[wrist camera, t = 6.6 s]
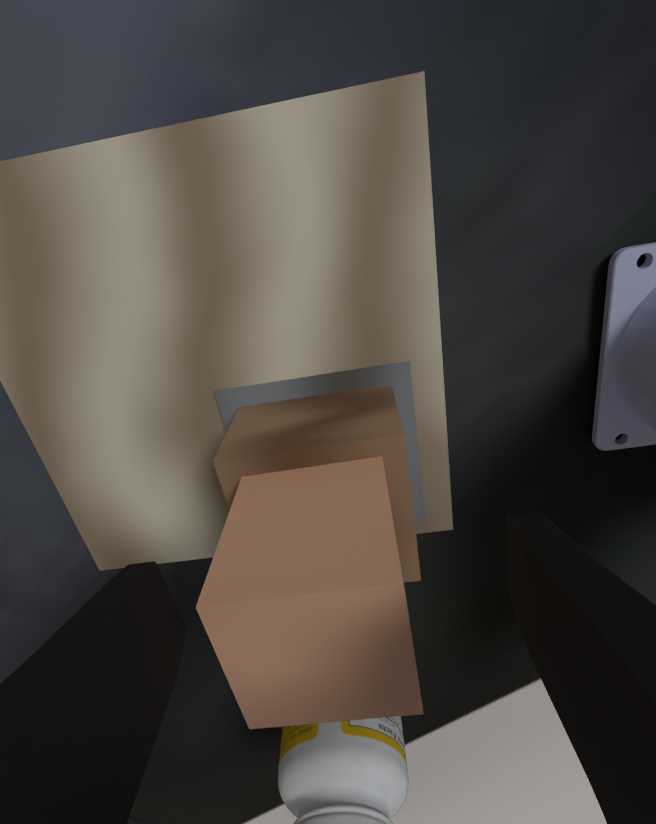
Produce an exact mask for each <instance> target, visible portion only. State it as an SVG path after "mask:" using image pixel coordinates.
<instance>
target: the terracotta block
mask: <svg viewBox="0 0 656 824" xmlns="http://www.w3.org/2000/svg"><path fill="white" fill-rule="evenodd" d="M196 609H197V611H198V614H199V616H200V618H201V621H202V623H203V625H204V627H205V630H206V632H207V634H208V637H209V639H210V641H211V643H212V646H213V648H214V650H215V652H216V655H217V657H218V659H219V662H220V664H221V666H222V668H223V671H224V673H225V675H226V677H227V680H228V682H229V684H230V687H231V689H232V691H233V693H234V696H235V698H236V700H237V702H238V705H239V707H240V709H241V712H242V714H243V716H244V718H245V721H246V723H247V725H248V727H249V729H259V728H270V727H282V726H293V725H304V724H316V723H327V722H339V721H350V720H362V719H373V718H385V717H396V716H408V715H419V714H424V713H423V706H422V700H421V693H420V687H419V680H418V674H417V667H416V661H415V654H414V648H413V641H412V634H411V628H410V621H409V615H408V608H407V602H406V595H405V589H404V582H403V576H402V570H401V564H400V559H399V553H398V547H397V541H396V535H395V529H394V523H393V517H392V511H391V505H390V499H389V493H388V487H387V481H386V475H385V469H384V463H383V457H382V456H381V457H374V458H368V459H361V460H354V461H347V462H340V463H333V464H327V465H320V466H313V467H306V468H299V469H292V470H285V471H279V472H272V473H265V474H258V475H251V476H244V477H241V480H240V483H239V486H238V488H237V491H236V494H235V497H234V500H233V503H232V506H231V508H230V511H229V514H228V517H227V520H226V523H225V525H224V528H223V531H222V534H221V537H220V540H219V542H218V545H217V548H216V551H215V554H214V557H213V560H212V562H211V565H210V568H209V571H208V574H207V577H206V579H205V582H204V585H203V588H202V591H201V594H200V597H199V599H198V602H197V605H196Z"/></svg>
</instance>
